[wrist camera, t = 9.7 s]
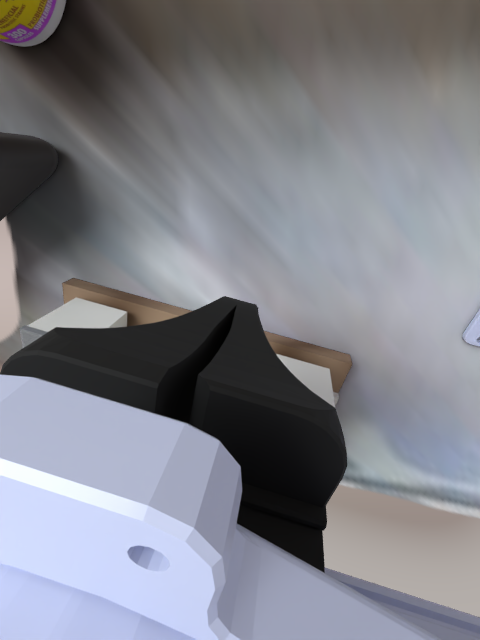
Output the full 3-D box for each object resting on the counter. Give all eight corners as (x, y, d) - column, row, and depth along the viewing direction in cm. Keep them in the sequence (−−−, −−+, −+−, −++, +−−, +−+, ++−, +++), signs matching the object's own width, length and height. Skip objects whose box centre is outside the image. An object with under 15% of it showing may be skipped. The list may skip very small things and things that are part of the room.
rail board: (349, 354, 22) (353, 369, 21) (311, 436, 27) (311, 453, 25) (73, 277, 24) (56, 285, 22) (78, 367, 28) (64, 379, 26)
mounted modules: (330, 368, 21) (338, 421, 17) (296, 445, 25) (295, 504, 20) (75, 296, 22) (19, 328, 18) (80, 380, 26) (35, 423, 22)
